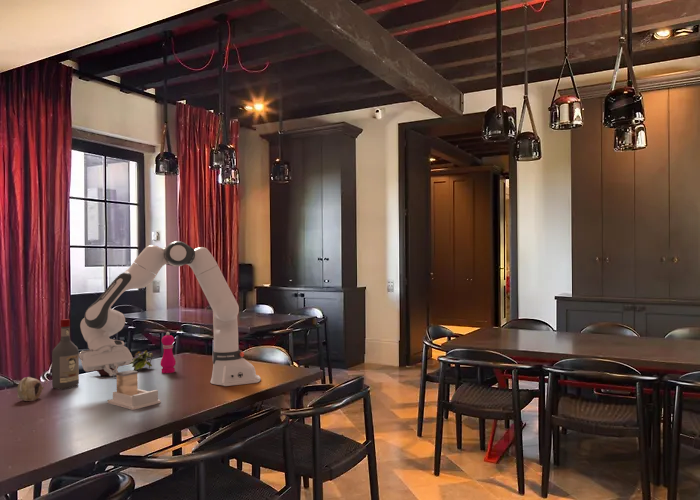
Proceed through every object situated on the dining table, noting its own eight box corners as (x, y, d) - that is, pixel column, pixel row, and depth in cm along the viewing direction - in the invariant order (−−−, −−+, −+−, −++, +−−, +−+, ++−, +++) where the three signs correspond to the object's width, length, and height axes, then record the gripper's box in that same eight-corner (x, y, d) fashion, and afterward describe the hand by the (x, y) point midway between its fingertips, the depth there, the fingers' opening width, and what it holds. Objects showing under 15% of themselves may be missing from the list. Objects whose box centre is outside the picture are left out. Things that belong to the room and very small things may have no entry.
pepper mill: (171, 373, 267) (170, 333, 267) (157, 373, 268) (157, 332, 268) (178, 370, 274) (178, 331, 274) (165, 370, 275) (165, 330, 275)
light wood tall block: (116, 398, 216) (116, 372, 216) (130, 395, 221) (130, 370, 221) (123, 400, 213) (123, 374, 213) (138, 397, 218) (137, 371, 218)
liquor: (49, 387, 241) (49, 320, 241) (68, 383, 249) (68, 318, 249) (62, 390, 237) (62, 321, 237) (81, 385, 245) (81, 318, 245)
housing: (107, 402, 214) (107, 390, 214) (135, 396, 224) (135, 384, 224) (132, 409, 204) (132, 396, 204) (160, 402, 214) (160, 389, 214)
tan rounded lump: (21, 408, 217) (12, 387, 214) (20, 400, 224) (11, 379, 221) (46, 398, 221) (38, 376, 218) (45, 390, 228) (37, 369, 225)
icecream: (85, 364, 262) (112, 367, 258) (96, 357, 269) (122, 361, 265) (87, 377, 263) (114, 381, 260) (97, 370, 270) (123, 374, 267)
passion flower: (138, 379, 280) (143, 357, 288) (156, 376, 278) (160, 354, 285) (124, 370, 272) (129, 348, 279) (143, 367, 269) (148, 345, 276)
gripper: (79, 347, 219) (92, 374, 213) (126, 340, 235) (139, 365, 229) (74, 357, 221) (86, 384, 215) (121, 349, 238) (133, 375, 232)
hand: (114, 374), depth 222 cm, fingers closed
